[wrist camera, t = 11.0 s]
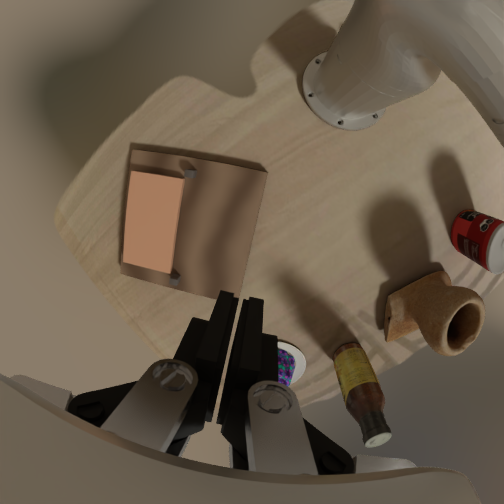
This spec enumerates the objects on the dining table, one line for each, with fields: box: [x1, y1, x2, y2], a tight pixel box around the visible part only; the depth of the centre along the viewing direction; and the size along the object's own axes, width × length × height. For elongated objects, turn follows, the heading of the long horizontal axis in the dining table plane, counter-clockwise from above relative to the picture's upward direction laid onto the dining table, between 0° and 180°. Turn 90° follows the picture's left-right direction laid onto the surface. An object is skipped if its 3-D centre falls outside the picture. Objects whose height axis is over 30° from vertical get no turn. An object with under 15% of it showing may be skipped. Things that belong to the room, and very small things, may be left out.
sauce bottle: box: [333, 343, 392, 447], centre depth 36 cm, size 6×6×20 cm
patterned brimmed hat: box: [278, 342, 306, 387], centre depth 45 cm, size 12×12×5 cm
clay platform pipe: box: [384, 271, 485, 356], centre depth 34 cm, size 15×12×15 cm
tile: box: [123, 171, 185, 274], centre depth 37 cm, size 8×14×1 cm, turn 168°
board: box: [121, 150, 268, 299], centre depth 38 cm, size 20×20×3 cm
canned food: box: [451, 210, 504, 274], centre depth 31 cm, size 8×8×11 cm
